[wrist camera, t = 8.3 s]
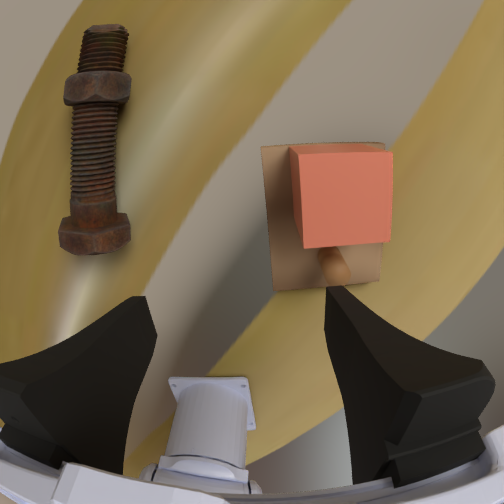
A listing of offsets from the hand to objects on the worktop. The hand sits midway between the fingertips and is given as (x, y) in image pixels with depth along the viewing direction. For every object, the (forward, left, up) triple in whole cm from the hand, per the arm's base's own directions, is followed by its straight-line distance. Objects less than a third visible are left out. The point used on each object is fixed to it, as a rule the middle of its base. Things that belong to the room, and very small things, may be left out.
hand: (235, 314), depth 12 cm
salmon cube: (+3, -5, -9) cm, 11 cm away
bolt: (+8, +9, -11) cm, 16 cm away
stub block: (0, -5, -10) cm, 12 cm away
